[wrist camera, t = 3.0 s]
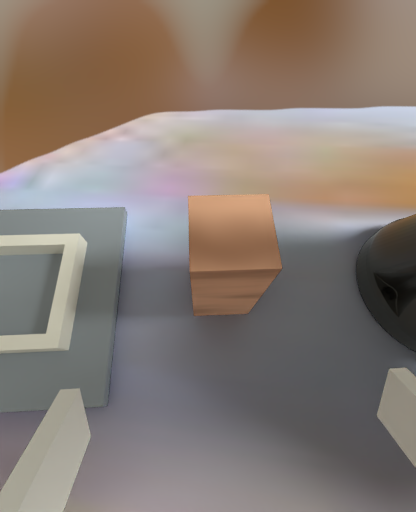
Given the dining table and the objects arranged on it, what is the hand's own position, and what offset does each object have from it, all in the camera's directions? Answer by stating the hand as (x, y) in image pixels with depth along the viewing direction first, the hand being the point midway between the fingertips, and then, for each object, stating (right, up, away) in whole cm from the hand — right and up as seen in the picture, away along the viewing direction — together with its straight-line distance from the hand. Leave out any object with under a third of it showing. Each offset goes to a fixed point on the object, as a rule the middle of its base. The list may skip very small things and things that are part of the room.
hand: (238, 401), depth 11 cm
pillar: (0, +3, +16) cm, 16 cm away
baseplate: (-19, +2, +15) cm, 25 cm away
